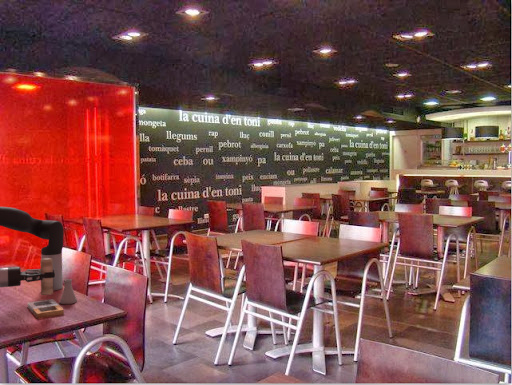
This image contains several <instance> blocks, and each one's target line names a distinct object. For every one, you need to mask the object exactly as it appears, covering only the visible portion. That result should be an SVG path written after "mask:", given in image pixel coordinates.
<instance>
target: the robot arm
mask: <svg viewBox="0 0 512 385" xmlns="http://www.w3.org/2000/svg"><path fill="white" fill-rule="evenodd" d="M0 227H3V228H5V229H10V230H13V231H17V232H20V233H28V234H31V235H33V236H35V237H37V238H40V239H42V240H48V244H47V245H46V246H44V247H42V248H41V250H40V258H41V259H45V258H52V266H53V272H45V274H44V273H43V272H42V273H41V268H34V269H33V268H32V269H31V268H28V269H26V270H24V271H22V270H21V267H20V266H8V267H7V266H6V267H0V288H7V287H8V288H11V287H20V286H21V283H22V281H25V282H26V283H32V282H38V281H41V280H43V279H44V278H53V292H54V291H58V290H62V289H64V287H63V286H64V285H63V284H64V281H63V248H64V235H65V234H64V225H63V223H62V222H61V221H59V220H49V219H46V220H44V219H38V218H34V217H32V216H31V215H30V213H29V212H27V211H24V210H22V209H18V208H16V207H9V206H0ZM41 259H40V260H41Z"/></svg>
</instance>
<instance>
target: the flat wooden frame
mask: <svg viewBox="0 0 512 385" xmlns="http://www.w3.org/2000/svg"><path fill="white" fill-rule="evenodd" d="M27 309H29V311H30V312H31V313H32V315H33V316H34V317H35V318H36V319H37V320H38V319H45V318H51V317H56V316H57V317H58V316H62V315H65V311H64V310H65V309H64V308H63V307H62V306H61V305H60V304H59V303H57V302H56V300H54V299H53V298H50V299H44V300H37V301H31V302H29V301H28V302H27Z"/></svg>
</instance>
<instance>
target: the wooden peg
mask: <svg viewBox="0 0 512 385" xmlns="http://www.w3.org/2000/svg"><path fill="white" fill-rule="evenodd" d="M40 269H41V273H42V272H43V273H44V274H45V272H53V266H52V258H45V259H40ZM40 290H41V292H40V295H41V296H49V295H53V294H54V291H53V278H44V279H43V280H40Z"/></svg>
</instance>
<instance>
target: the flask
mask: <svg viewBox="0 0 512 385" xmlns="http://www.w3.org/2000/svg"><path fill="white" fill-rule="evenodd" d="M72 281H73V279H71V278H68V279H67V278H66V279H64V280H63V283H64V285H63V286H64V287H63V291H62V294H61V298H60V299H59V305H60V304H62V305H72V304H74V303H77V302H78V298H77V296H76V293H75V291H74V289H73V285H72Z"/></svg>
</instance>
